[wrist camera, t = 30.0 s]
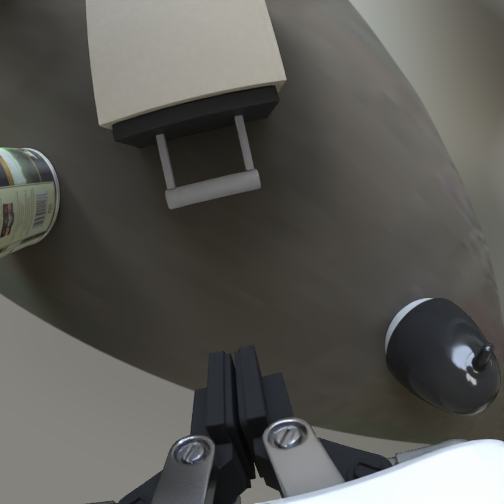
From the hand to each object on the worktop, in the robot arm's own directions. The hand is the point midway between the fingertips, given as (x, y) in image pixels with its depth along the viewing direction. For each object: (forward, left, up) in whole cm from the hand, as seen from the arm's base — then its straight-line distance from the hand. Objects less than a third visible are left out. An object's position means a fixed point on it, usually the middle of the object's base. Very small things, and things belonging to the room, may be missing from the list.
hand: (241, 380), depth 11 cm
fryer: (0, +20, -19) cm, 28 cm away
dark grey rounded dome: (+18, -13, -19) cm, 29 cm away
